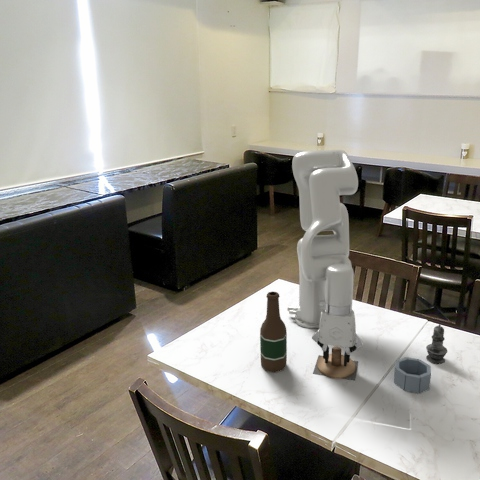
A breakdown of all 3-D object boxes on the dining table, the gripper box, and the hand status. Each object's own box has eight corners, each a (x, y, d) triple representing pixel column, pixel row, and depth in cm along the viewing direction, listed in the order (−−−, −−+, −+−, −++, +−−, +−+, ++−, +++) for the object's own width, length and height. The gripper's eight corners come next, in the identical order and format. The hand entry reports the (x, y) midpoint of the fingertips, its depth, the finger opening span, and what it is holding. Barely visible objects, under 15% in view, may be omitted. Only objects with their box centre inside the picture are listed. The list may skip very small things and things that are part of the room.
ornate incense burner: (440, 353, 141) (445, 318, 137) (449, 364, 135) (454, 328, 131) (421, 354, 141) (425, 319, 137) (430, 365, 135) (434, 329, 131)
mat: (312, 374, 133) (312, 373, 133) (318, 356, 142) (318, 355, 142) (354, 381, 129) (355, 380, 129) (358, 362, 138) (358, 361, 138)
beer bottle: (272, 355, 143) (271, 285, 135) (292, 365, 137) (292, 292, 130) (255, 366, 138) (253, 293, 130) (274, 376, 132) (274, 302, 125)
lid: (314, 374, 132) (314, 356, 130) (320, 354, 142) (321, 337, 140) (353, 381, 129) (354, 362, 127) (356, 360, 138) (357, 342, 136)
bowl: (393, 389, 125) (395, 373, 123) (394, 370, 133) (395, 355, 132) (429, 395, 122) (431, 379, 121) (428, 375, 130) (430, 360, 129)
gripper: (305, 309, 128) (305, 364, 134) (368, 316, 123) (364, 374, 129) (310, 297, 135) (310, 351, 141) (370, 304, 130) (366, 360, 135)
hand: (336, 361), depth 135 cm, fingers open, 4 cm apart
